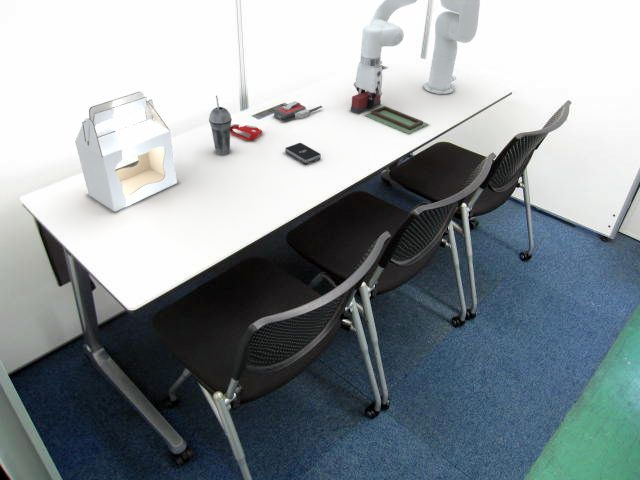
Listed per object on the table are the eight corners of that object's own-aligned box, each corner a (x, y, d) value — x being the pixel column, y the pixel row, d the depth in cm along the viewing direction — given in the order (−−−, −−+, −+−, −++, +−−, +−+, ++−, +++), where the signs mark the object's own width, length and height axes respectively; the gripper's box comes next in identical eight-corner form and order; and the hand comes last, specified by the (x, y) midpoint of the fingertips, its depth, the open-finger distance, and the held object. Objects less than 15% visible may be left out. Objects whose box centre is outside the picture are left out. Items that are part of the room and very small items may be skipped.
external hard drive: (305, 166, 177) (305, 160, 175) (284, 153, 183) (284, 147, 182) (321, 159, 180) (321, 154, 179) (300, 147, 187) (300, 142, 186)
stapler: (373, 102, 221) (375, 87, 218) (380, 104, 219) (382, 90, 216) (350, 111, 213) (351, 96, 210) (357, 114, 211) (358, 99, 208)
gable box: (114, 213, 151) (92, 119, 134) (87, 195, 158) (64, 103, 141) (178, 183, 165) (166, 94, 148) (151, 168, 172) (137, 82, 155)
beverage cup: (237, 149, 184) (234, 92, 172) (227, 158, 179) (223, 100, 167) (218, 145, 186) (213, 88, 174) (207, 154, 180) (202, 96, 168)
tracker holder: (259, 125, 197) (266, 130, 188) (257, 137, 199) (264, 142, 190) (226, 120, 192) (232, 126, 184) (225, 133, 194) (230, 139, 185)
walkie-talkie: (286, 125, 201) (323, 110, 212) (286, 114, 198) (324, 100, 210) (270, 117, 205) (308, 104, 217) (270, 106, 203) (308, 93, 214)
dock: (385, 107, 217) (385, 103, 216) (427, 125, 205) (428, 120, 204) (365, 116, 210) (365, 111, 209) (408, 134, 198) (409, 129, 197)
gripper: (393, 64, 202) (388, 110, 213) (360, 52, 212) (356, 97, 223) (380, 68, 198) (375, 115, 209) (347, 56, 207) (344, 102, 218)
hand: (366, 106), depth 216 cm, fingers closed on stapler, 3 cm apart
